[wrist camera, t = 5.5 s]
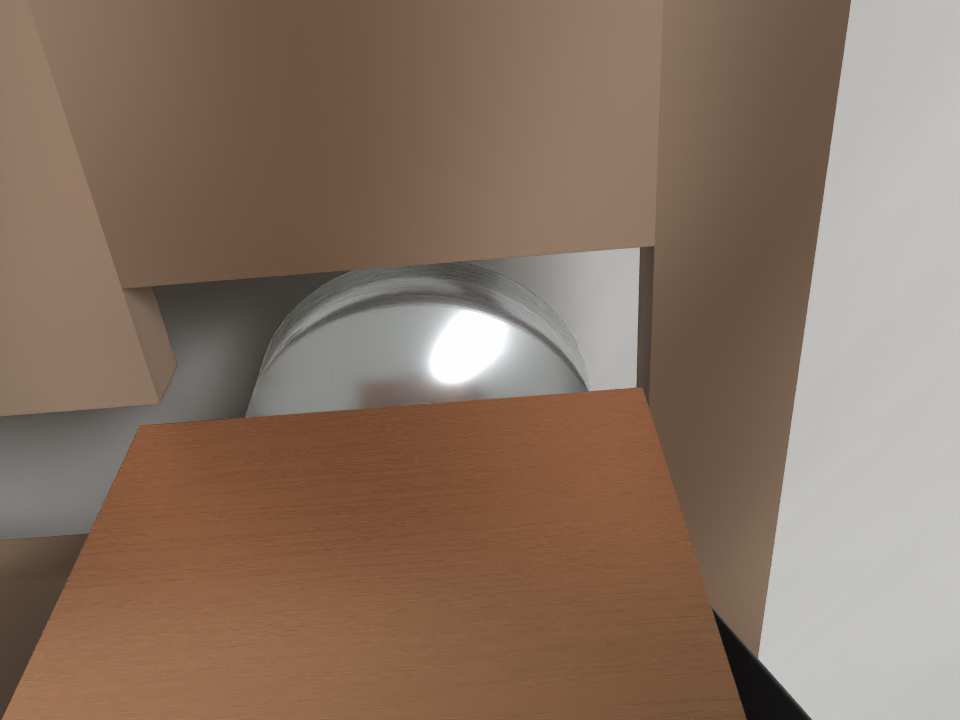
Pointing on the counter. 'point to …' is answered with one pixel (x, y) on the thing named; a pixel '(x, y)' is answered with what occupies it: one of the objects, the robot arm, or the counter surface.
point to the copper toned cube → (393, 535)
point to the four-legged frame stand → (422, 203)
